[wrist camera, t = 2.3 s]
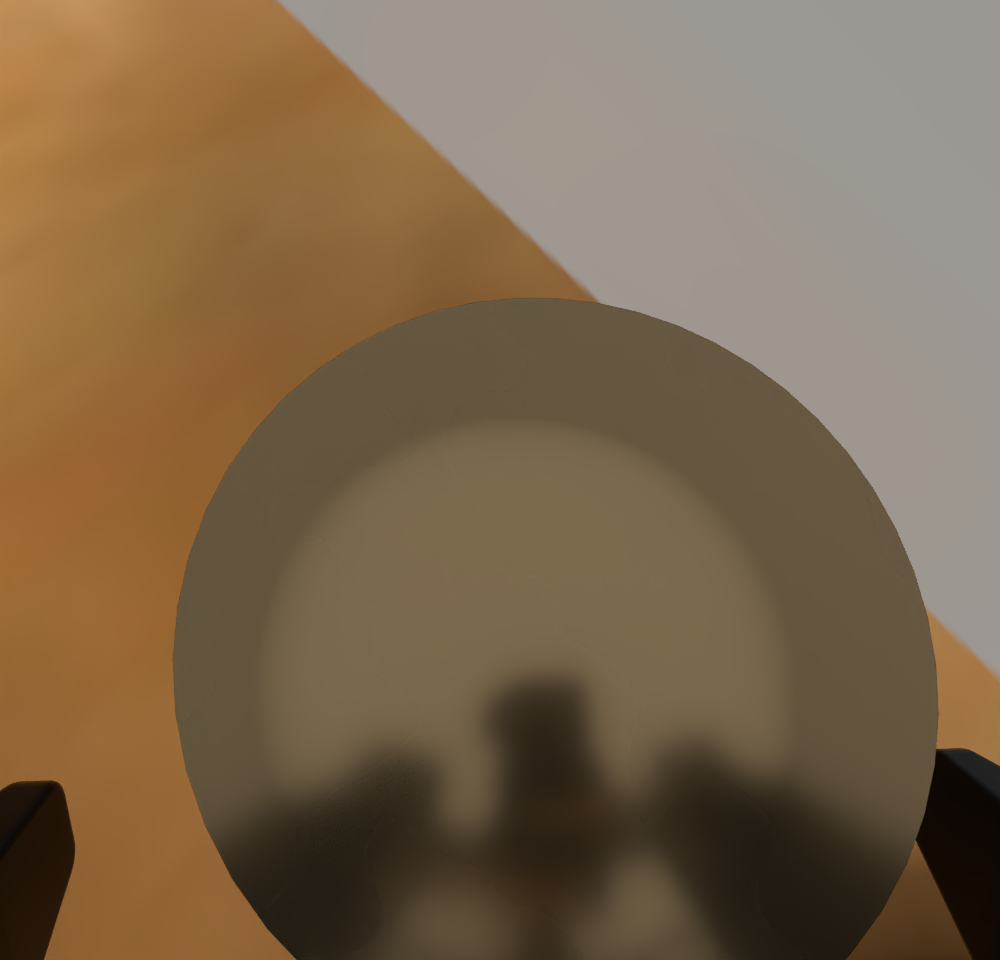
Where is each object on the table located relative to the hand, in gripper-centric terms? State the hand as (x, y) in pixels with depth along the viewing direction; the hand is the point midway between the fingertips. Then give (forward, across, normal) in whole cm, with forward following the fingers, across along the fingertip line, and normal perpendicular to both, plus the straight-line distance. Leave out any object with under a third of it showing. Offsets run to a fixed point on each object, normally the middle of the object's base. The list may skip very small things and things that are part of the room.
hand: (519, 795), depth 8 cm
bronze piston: (+7, 0, +6) cm, 9 cm away
